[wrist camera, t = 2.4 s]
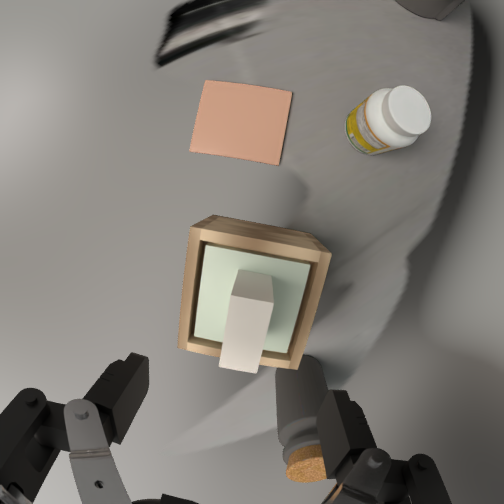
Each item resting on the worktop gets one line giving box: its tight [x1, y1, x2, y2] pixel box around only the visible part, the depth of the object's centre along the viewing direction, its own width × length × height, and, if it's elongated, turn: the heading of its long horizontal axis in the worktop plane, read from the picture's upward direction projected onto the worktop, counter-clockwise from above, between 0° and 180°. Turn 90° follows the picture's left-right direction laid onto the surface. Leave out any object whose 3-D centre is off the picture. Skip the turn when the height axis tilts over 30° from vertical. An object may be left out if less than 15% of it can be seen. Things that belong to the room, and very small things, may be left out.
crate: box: [178, 215, 332, 370], centre depth 24 cm, size 10×10×9 cm
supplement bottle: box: [345, 86, 431, 155], centre depth 20 cm, size 5×5×10 cm
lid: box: [194, 242, 310, 373], centre depth 18 cm, size 8×8×6 cm
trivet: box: [189, 80, 292, 166], centre depth 25 cm, size 9×8×1 cm
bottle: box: [275, 355, 328, 482], centre depth 24 cm, size 6×6×15 cm
